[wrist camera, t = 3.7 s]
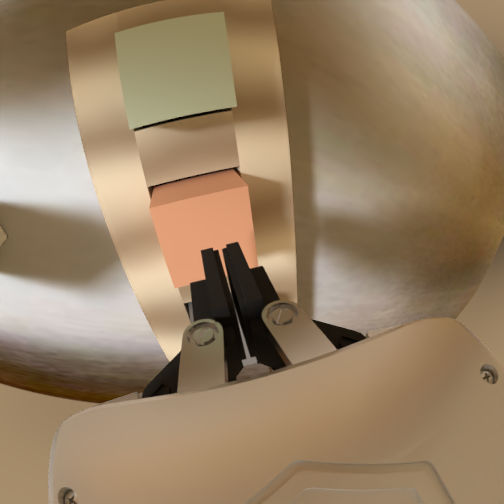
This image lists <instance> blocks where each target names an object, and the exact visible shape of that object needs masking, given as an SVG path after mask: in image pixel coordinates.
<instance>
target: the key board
mask: <svg viewBox="0 0 504 504" xmlns="http://www.w3.org/2000/svg"><path fill="white" fill-rule="evenodd" d="M215 12H224V16H225V23H226V30H227V37H228V45H229V52H230V59H231V66H232V73H233V80H234V87H235V95H236V102H237V107H231V108H225V109H224V110H220V111H214V112H209V113H203V114H198V115H193V116H188V117H183V118H179V119H174V120H170V121H166V122H162V123H158V124H154V125H150V126H146V127H143V128H141V127H138V128H134V129H131V130H130V129H129V125H128V120H127V115H126V109H125V104H124V98H123V93H122V87H121V80H120V74H119V67H118V59H117V51H116V43H115V33H117V32H120V31H123V30H126V29H130V28H134V27H137V26H141V25H145V24H149V23H154V22H158V21H163V20H168V19H173V18H178V17H184V16H191V15H198V14H206V13H215ZM66 45H67V56H68V66H69V74H70V81H71V88H72V95H73V101H74V106H75V112H76V117H77V122H78V126H79V131H80V135H81V140H82V144H83V148H84V152H85V156H86V160H87V164H88V167H89V171H90V174H91V178H92V181H93V185H94V188H95V191H96V195H97V198H98V201H99V204H100V207H101V210H102V213H103V216H104V219H105V222H106V224H107V227H108V230H109V233H110V235H111V238H112V241H113V243H114V246H115V248H116V251H117V253H118V256H119V258H120V261H121V263H122V266H123V268H124V271H125V273H126V275H127V278H128V280H129V282H130V284H131V287H132V289H133V291H134V293H135V295H136V298H137V300H138V302H139V304H140V306H141V308H142V310H143V312H144V314H145V316H146V318H147V320H148V322H149V324H150V326H151V328H152V330H153V332H154V334H155V336H156V338H157V340H158V342H159V344H160V345H161V347H162V349H163V351H164V353H165V354H166V356H167V358H168V360H169V362H170V361H171V360H172V359H173V358H174V357H175V356H176V355H177V354H178V353H179V352H180V351H181V346H182V337H183V333H184V331H185V329H186V328H187V327H188V326H189V325H190V324H191V321H190V313H189V305H188V302H192V299H191V290H190V285H187V286H183V287H179V288H174V285H173V282H172V279H171V276H170V273H169V271H168V268H167V265H166V262H165V259H164V256H163V253H162V250H161V246H160V243H159V240H158V237H157V234H156V230H155V227H154V224H153V220H152V217H151V214H150V210H149V207H150V202H151V198H152V194H153V190H154V185H157V184H161V183H165V182H169V181H173V180H177V179H181V178H186V177H190V176H194V175H199V174H203V173H208V172H213V171H217V170H222V169H227V168H232V169H234V170H235V172H236V173H237V174H238V175H239V176H240V177H241V178H242V180H243V181H244V182H245V183H246V184H247V185H248V191H249V198H250V206H251V213H252V221H253V228H254V236H255V244H256V251H257V259H258V266H263V267H264V269H265V271H266V273H267V275H268V277H269V279H270V281H271V283H272V285H273V287H274V289H275V291H276V293H277V294H278V296H279V298H280V300H289V301H293V302H295V303H297V270H296V244H295V223H294V205H293V190H292V175H291V162H290V150H289V138H288V127H287V117H286V107H285V98H284V89H283V80H282V72H281V64H280V56H279V49H278V42H277V35H276V28H275V21H274V15H273V8H272V2H271V0H162V1H157V2H153V3H148V4H144V5H140V6H136V7H132V8H129V9H125V10H122V11H119V12H115V13H112V14H109V15H106V16H103V17H100V18H97V19H95V20H92V21H89V22H87V23H84V24H82V25H79V26H77V27H74V28H72V29H70V30H68V31H66ZM226 279H227V282H228V286H229V289H230V285H229V280H228V276H226ZM230 292H231V290H230Z"/></svg>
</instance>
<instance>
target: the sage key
mask: <svg viewBox="0 0 504 504" xmlns="http://www.w3.org/2000/svg"><path fill="white" fill-rule="evenodd" d="M115 43H116V51H117V59H118V67H119V74H120V80H121V87H122V93H123V98H124V104H125V109H126V115H127V120H128V125H129V129H130V130H131V129H134V128H138V127H141V126H145V125H149V124H152V123H156V122H160V121H164V120H169V119H173V118H177V117H182V116H187V115H191V114H196V113H202V112H207V111H213V110H219V109H225V108H231V107H237V102H236V95H235V87H234V80H233V73H232V66H231V59H230V52H229V45H228V37H227V30H226V23H225V16H224V12H215V13H206V14H198V15H191V16H184V17H178V18H173V19H168V20H163V21H158V22H154V23H149V24H145V25H141V26H137V27H134V28H130V29H126V30H123V31H120V32H117V33H115Z"/></svg>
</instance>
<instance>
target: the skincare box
mask: <svg viewBox="0 0 504 504" xmlns="http://www.w3.org/2000/svg"><path fill="white" fill-rule="evenodd" d="M6 239H7V235H6V234H5V232H4V231H3V229H2V228H1V226H0V247H1V245H2V244H3V243H4V242H5V240H6Z"/></svg>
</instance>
